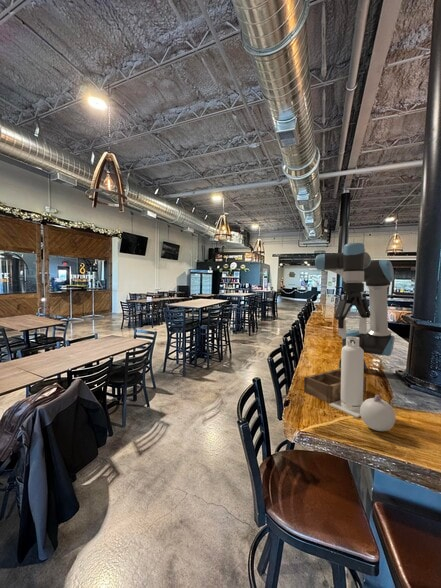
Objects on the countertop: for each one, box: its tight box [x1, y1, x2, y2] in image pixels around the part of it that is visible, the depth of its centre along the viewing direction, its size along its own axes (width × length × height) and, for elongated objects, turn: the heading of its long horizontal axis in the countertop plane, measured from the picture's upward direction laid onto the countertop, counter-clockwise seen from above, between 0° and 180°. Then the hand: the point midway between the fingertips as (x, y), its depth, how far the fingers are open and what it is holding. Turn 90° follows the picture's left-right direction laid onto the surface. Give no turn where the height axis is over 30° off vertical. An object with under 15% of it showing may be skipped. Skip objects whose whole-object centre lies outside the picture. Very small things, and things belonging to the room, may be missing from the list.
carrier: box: [303, 368, 367, 404], centre depth 122 cm, size 26×14×7 cm, turn 120°
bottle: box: [340, 336, 365, 411], centre depth 106 cm, size 8×8×28 cm
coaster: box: [328, 400, 361, 419], centre depth 106 cm, size 12×12×1 cm
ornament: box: [360, 394, 397, 432], centre depth 90 cm, size 10×10×12 cm
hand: (352, 335), depth 105 cm, fingers open, 13 cm apart
